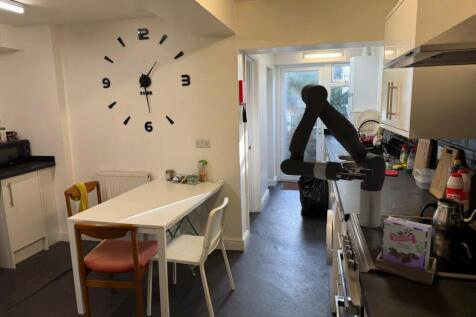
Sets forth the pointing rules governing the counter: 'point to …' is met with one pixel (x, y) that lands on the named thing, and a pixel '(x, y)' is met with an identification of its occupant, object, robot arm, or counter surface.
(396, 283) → the counter surface
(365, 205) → the robot arm
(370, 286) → the counter surface
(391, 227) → the candy box
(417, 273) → the crate
